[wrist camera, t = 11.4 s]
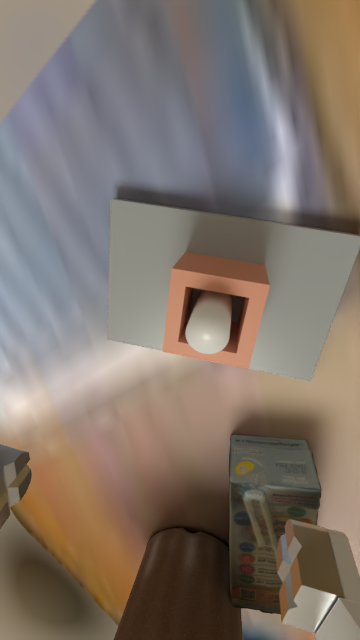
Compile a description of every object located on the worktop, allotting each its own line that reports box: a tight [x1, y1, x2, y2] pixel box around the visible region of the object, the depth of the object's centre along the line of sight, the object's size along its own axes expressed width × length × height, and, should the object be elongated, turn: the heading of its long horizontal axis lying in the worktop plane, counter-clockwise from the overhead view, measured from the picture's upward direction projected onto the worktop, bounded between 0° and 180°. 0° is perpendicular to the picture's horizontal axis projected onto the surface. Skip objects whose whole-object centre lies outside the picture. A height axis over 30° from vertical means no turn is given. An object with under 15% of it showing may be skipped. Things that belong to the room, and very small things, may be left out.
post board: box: [107, 198, 360, 381], centre depth 22 cm, size 18×12×8 cm, turn 83°
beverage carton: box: [229, 435, 321, 614], centre depth 32 cm, size 8×19×7 cm, turn 4°
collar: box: [162, 252, 270, 369], centre depth 22 cm, size 6×6×5 cm
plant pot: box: [114, 528, 242, 640], centre depth 34 cm, size 16×16×16 cm
